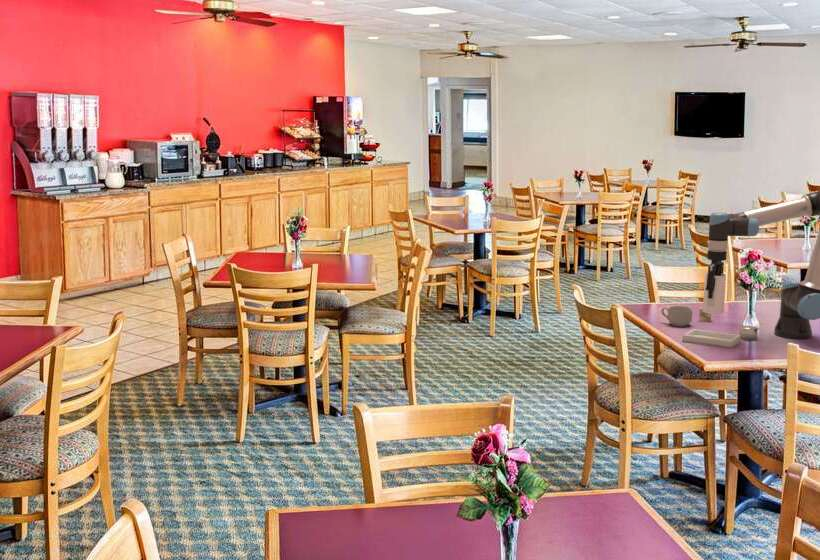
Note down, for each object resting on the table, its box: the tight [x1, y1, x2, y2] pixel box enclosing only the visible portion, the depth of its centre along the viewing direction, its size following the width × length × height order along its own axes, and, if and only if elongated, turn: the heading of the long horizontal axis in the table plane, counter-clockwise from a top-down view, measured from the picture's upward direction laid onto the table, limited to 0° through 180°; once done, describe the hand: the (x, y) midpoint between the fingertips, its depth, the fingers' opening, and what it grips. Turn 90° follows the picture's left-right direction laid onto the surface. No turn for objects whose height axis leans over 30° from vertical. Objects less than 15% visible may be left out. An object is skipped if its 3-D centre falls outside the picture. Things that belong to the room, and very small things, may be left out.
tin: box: [739, 325, 759, 341], centre depth 397 cm, size 7×7×5 cm
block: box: [698, 306, 712, 323], centre depth 431 cm, size 5×5×6 cm
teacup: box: [660, 305, 693, 328], centre depth 422 cm, size 14×11×8 cm
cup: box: [702, 272, 727, 315], centre depth 388 cm, size 8×8×16 cm
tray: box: [682, 328, 742, 349], centre depth 391 cm, size 20×14×3 cm
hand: (713, 304), depth 388 cm, fingers closed on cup, 8 cm apart
